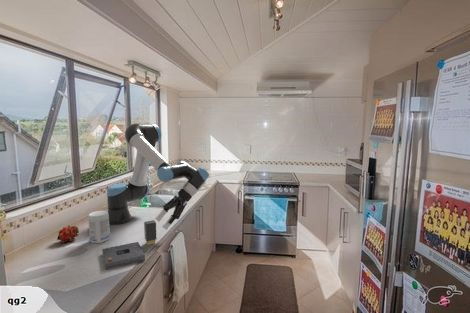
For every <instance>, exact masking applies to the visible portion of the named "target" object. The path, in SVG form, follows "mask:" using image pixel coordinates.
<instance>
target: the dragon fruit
mask: <svg viewBox="0 0 470 313" xmlns="http://www.w3.org/2000/svg"><path fill="white" fill-rule="evenodd" d="M79 234H80V231H79V227H78V226H76V225H72V226H71V225H67V227H66V226H65V227H63V228H62V229H61V230H59V231H58V236H57V238H56V240H57V241H59V242H60V243H61V244H62V243H66V242H68V241H70V242H72V241H74V239H75V238H77V237H79Z"/></svg>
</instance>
